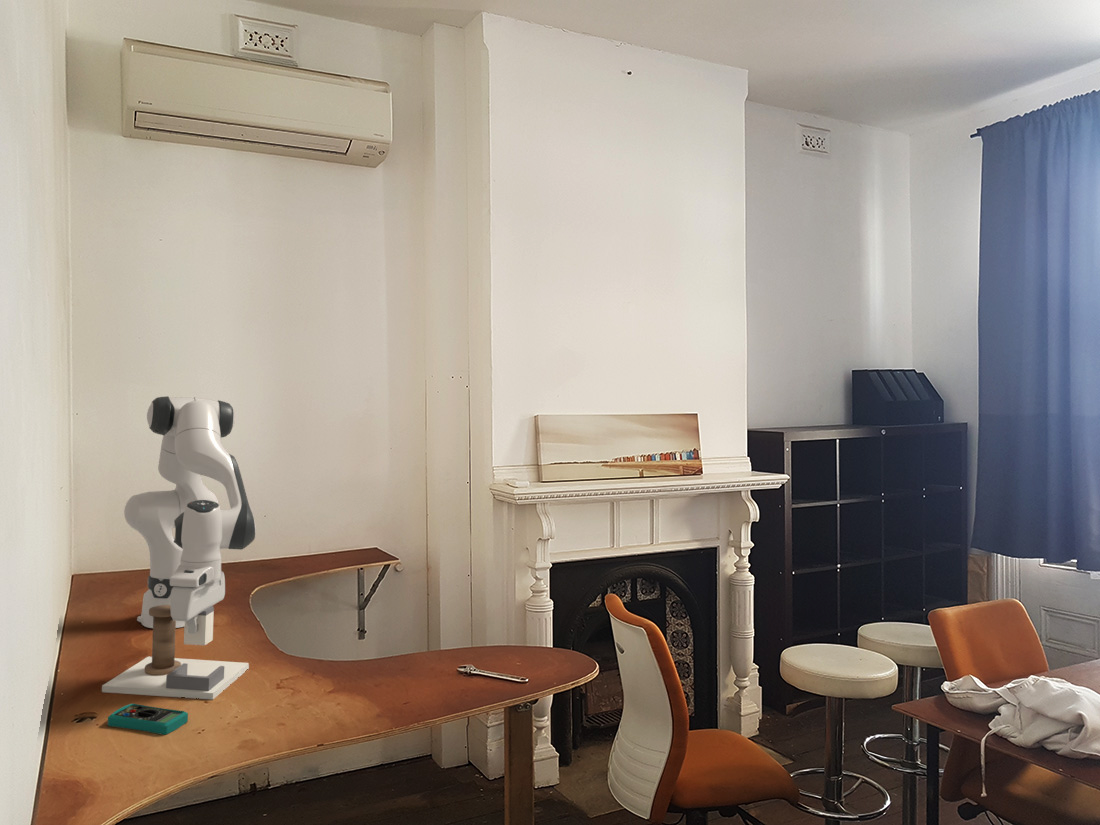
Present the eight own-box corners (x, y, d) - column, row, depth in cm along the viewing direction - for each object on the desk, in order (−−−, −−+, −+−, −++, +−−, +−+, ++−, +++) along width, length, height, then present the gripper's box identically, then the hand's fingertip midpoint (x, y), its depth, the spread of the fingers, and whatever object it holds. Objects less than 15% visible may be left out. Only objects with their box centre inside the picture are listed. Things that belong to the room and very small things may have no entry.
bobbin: (155, 662, 203) (157, 603, 202) (186, 664, 203) (189, 605, 202) (137, 674, 195) (139, 612, 195) (170, 676, 195) (172, 614, 194)
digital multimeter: (129, 714, 178) (129, 700, 178) (189, 723, 175) (189, 709, 174) (104, 727, 171) (104, 714, 170) (166, 737, 167) (166, 723, 167)
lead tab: (192, 638, 194) (193, 605, 193) (212, 640, 194) (213, 606, 193) (183, 644, 190) (184, 610, 189) (204, 645, 190) (206, 611, 189)
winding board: (148, 662, 207) (148, 644, 207) (248, 668, 206) (249, 651, 206) (101, 692, 187) (102, 672, 187) (212, 699, 186) (213, 680, 186)
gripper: (207, 560, 201) (205, 615, 202) (165, 580, 181) (163, 641, 182) (232, 561, 201) (230, 617, 202) (193, 582, 181) (191, 643, 181)
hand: (198, 629), depth 192 cm, fingers closed on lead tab, 4 cm apart
